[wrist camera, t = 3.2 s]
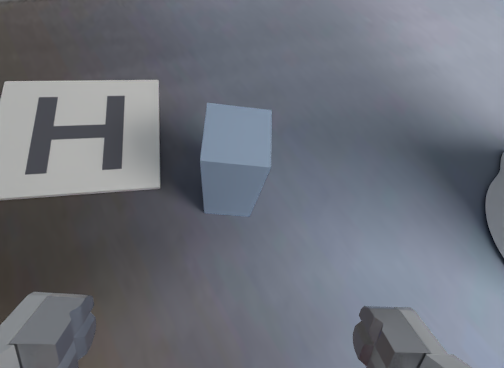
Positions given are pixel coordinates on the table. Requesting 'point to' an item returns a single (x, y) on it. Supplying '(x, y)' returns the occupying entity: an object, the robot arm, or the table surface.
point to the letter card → (78, 137)
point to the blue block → (234, 158)
